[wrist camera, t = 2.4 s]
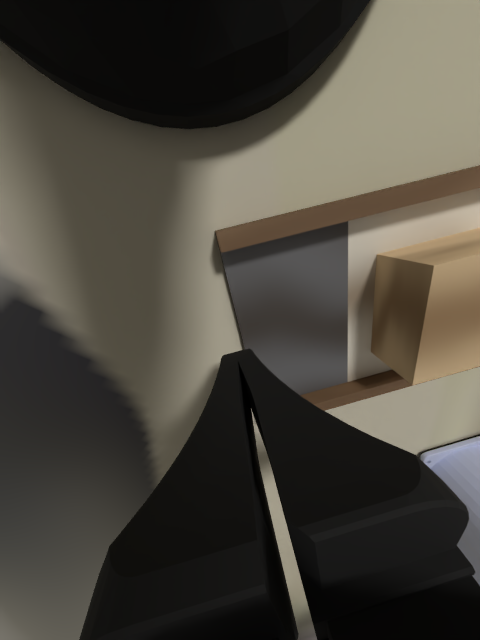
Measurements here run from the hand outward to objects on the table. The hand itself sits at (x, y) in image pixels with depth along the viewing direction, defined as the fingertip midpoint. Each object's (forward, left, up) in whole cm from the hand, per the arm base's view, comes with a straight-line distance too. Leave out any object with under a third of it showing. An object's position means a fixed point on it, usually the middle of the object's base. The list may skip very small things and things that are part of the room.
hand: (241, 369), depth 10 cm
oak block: (0, -11, -2) cm, 12 cm away
